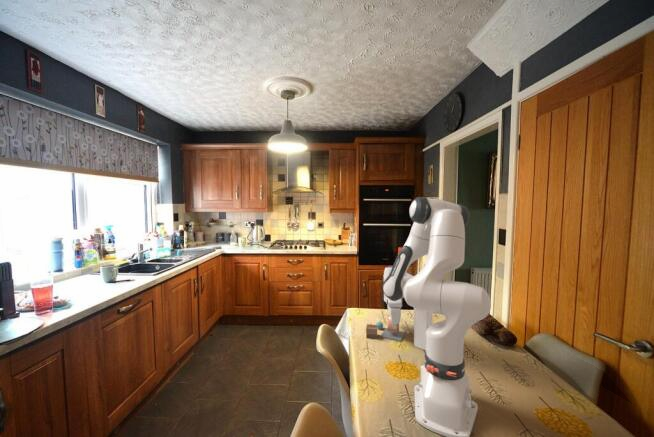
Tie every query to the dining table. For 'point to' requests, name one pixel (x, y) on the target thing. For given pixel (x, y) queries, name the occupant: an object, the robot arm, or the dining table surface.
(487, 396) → the dining table surface
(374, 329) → the walnut block
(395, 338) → the coaster
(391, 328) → the pink rounded cylinder
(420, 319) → the milk
